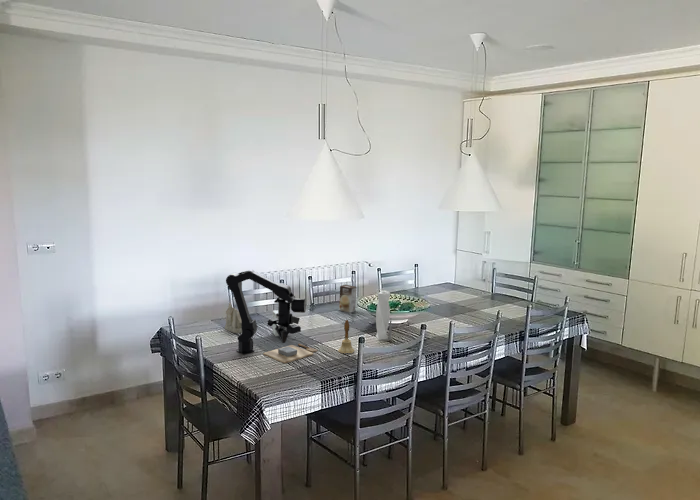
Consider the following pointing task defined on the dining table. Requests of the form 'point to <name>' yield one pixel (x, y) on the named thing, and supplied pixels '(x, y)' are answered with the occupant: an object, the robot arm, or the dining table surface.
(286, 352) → the block
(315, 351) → the turner
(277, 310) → the supplement box
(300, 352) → the board
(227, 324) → the beige sack
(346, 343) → the hand bell
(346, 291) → the coffee box
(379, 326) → the white bottle
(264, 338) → the dining table surface
